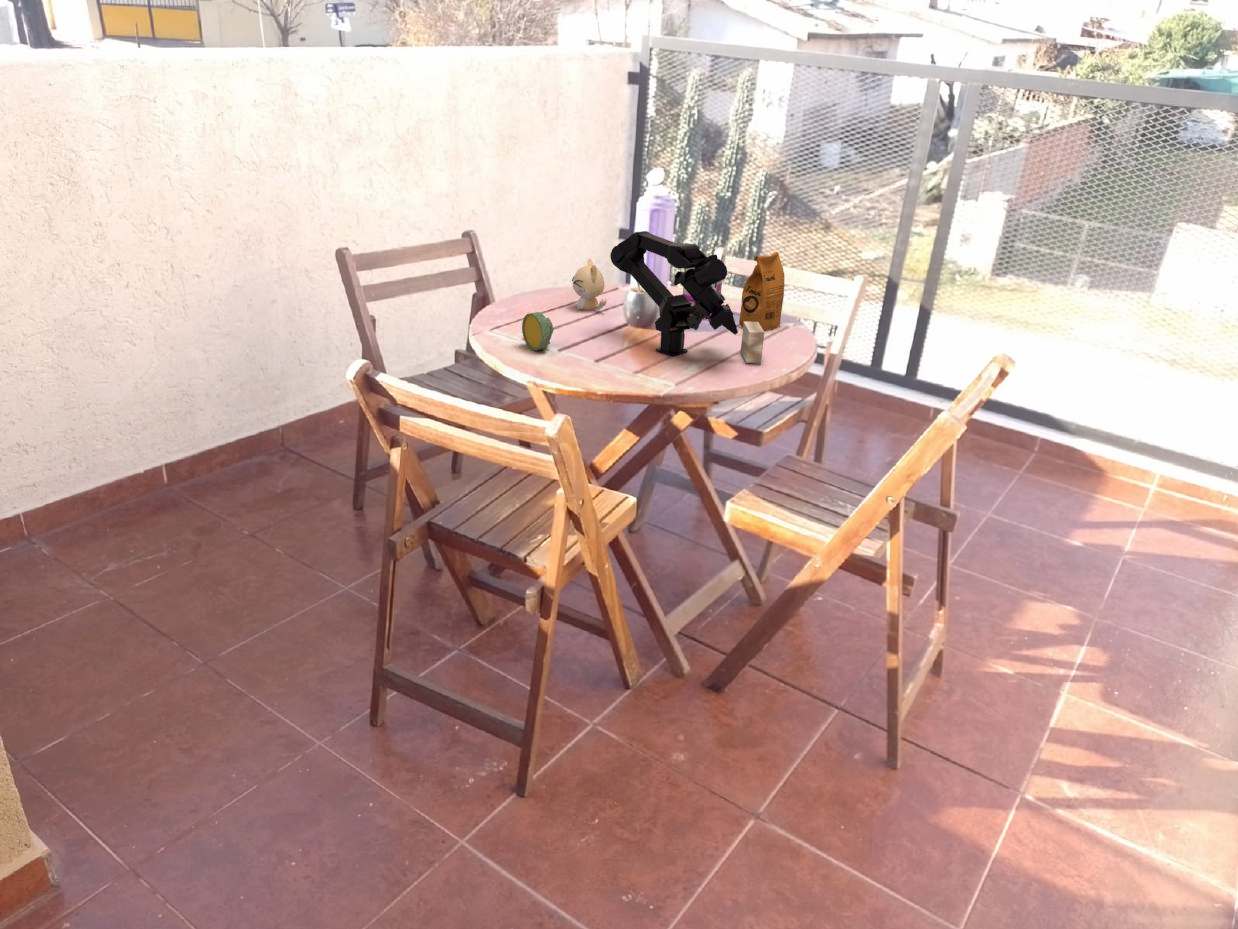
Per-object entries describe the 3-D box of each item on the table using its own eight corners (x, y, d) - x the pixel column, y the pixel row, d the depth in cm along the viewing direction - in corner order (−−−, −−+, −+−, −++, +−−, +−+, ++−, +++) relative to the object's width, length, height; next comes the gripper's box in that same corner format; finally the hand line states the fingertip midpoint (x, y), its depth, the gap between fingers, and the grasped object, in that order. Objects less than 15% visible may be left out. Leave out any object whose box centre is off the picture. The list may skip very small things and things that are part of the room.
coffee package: (733, 326, 273) (740, 253, 264) (759, 319, 281) (766, 248, 272) (759, 333, 266) (767, 259, 257) (784, 326, 274) (793, 254, 265)
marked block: (745, 364, 240) (749, 331, 236) (740, 352, 249) (743, 321, 245) (760, 365, 240) (764, 332, 236) (754, 353, 249) (758, 321, 245)
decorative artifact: (521, 345, 248) (521, 309, 243) (543, 341, 252) (543, 306, 247) (542, 354, 241) (542, 318, 236) (563, 350, 245) (564, 314, 240)
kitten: (568, 302, 290) (569, 256, 284) (599, 302, 292) (600, 256, 286) (575, 315, 277) (575, 266, 271) (607, 315, 279) (608, 266, 272)
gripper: (673, 300, 246) (708, 342, 251) (679, 319, 229) (717, 363, 234) (705, 273, 243) (740, 316, 248) (713, 290, 226) (751, 336, 231)
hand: (736, 333), depth 240 cm, fingers closed
